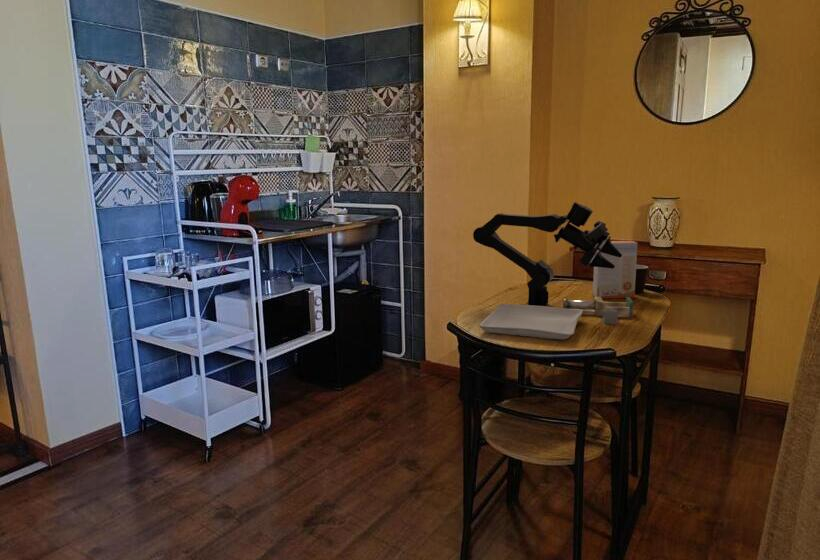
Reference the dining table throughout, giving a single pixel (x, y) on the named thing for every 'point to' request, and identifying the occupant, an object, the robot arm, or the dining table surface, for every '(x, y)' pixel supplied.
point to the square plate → (532, 321)
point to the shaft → (579, 304)
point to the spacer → (609, 316)
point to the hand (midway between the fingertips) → (617, 261)
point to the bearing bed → (611, 307)
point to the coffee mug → (640, 278)
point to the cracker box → (617, 273)
